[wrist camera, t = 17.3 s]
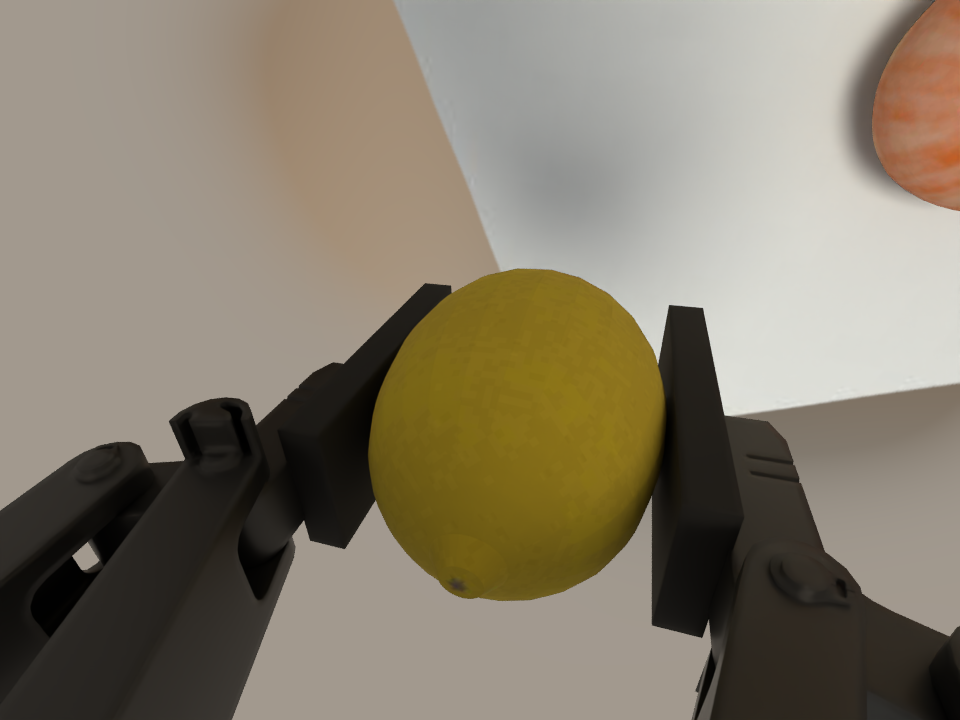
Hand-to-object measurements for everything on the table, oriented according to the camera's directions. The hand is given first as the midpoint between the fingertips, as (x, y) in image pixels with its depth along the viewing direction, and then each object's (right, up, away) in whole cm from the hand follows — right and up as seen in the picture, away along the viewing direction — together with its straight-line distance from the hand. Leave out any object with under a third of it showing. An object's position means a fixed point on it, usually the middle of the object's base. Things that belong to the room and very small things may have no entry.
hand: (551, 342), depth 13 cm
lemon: (0, +1, 0) cm, 1 cm away
